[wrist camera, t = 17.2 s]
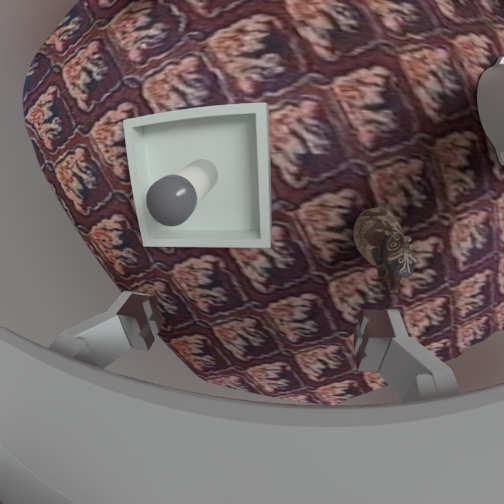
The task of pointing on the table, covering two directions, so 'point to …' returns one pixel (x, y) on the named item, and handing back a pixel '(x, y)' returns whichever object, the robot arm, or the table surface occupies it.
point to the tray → (226, 162)
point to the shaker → (181, 192)
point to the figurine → (384, 245)
